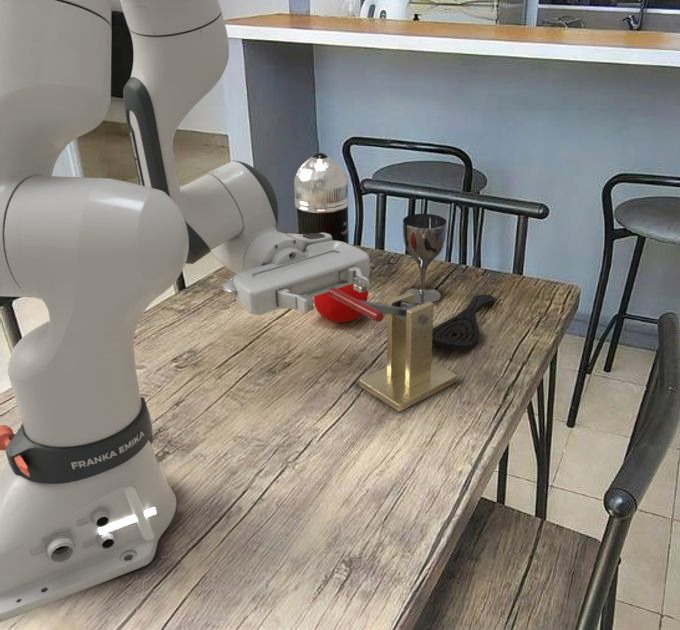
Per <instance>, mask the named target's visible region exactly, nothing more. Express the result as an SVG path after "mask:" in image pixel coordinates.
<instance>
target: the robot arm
mask: <svg viewBox="0 0 680 630" xmlns="http://www.w3.org/2000/svg"><path fill="white" fill-rule="evenodd" d="M119 2H120V6H121V9H122V12H123V16H124V19H125V21H126V25H127V28H128V31H129V33H130V37H131V41H132V49H133V61H132V69H131V74H130V78H129V79H128V81H126V84H125V85H124V87H123V89H122V91H123V92H122V94H123V96H122V98H123V106H124V114H125V121H126V126H127V131H128V137H129V141H130V146H131V151H132V155H133V160H134V165H135V170H136V174H137V180H138V183H134V182H129V181H124V180H120V179H115V178H110V177H109V178H107V177H84V176H82V177H81V176H58V175H57V176H56V175H55V176H54V175H53V173H54V169H55V166H56V163H57V162H58V159H59V157H60V155H61V154H62V153H63V151H64V150H65V149H66V148H67V146H69V144H71V143H72V142H73V141H75V140H76V139H77V138H80V137H82V136H83V135H86V134H88V133H90V132H92V131H93V130H95V129H96V128H97V127H99V126H100V125H101V124H102V122H103V121H104V120H105V118H106V116H107V114H108V112H109V109H110V107H111V103H112V0H0V297H11V298H12V297H13V298H33V299H38V300H41V301H42V302H43V303H44V305H45V307H46V309H47V312H48V318H49V319H48V321H46V322H44V323H42V324H40V325H39V326H37V327H35V328H33V329H32V330H30V331H29V332H27V333H26V334H25V335H24V336H22V338H21V339H19V341H18V342H17V343H16V345H15V346H14V348H13V349H12V351H11V354H10V357H9V360H8V364H7V376H8V378H9V382H10V386H11V390H12V392H13V396H14V400H15V402H16V405H17V409H18V412H19V415H20V419H21V425H20V427H19V428H18V429H17V431H16V433H14V430H13V429H12V427H11V426H8V425H6V424H1V425H0V451H5V454H6V458H7V462H8V463H7V464H6V465H5V466H4V467H3V468H2V469H1V470H0V623H3V622H5V621H8V620H10V619H13V618H15V617H18V616H21V615H23V614H26V613H29V612H31V611H33V610H37V609H39V608H42V607H43V606H47V605H49V604H51V603H54V602H56V601H59V600H61V599H65V598H67V597H69V596H72V595H74V594H77V593H79V592H82V591H85V590H87V589H90V588H92V587H95V586H98V585H100V584H103V583H105V582H108V581H110V580H113V579H115V578H118V577H120V576H121V577H122V576H123V575H125V574H129V573H131V572H133V571H136V570H139V569H141V568H144V567H146V566H147V565H149V564H150V563H151V562H152V561H153V560H154V558H155V555H156V553H157V552H156V551H157V549H158V548H157V547H158V543H159V541H160V539H161V537H162V535H163V534H164V533H165V531H167V529H168V528H169V526H170V525H171V523H172V521H173V519H174V517H175V515H176V511H177V497H176V494H175V492H174V490H173V488H172V487H171V486H170V484H169V483H168V481H167V479H166V477H165V475H164V473H163V471H162V469H161V467H160V464H159V461H158V459H157V455H156V453H155V451H154V447H153V443H154V436H153V423H152V419H151V415H150V410H149V408H148V405H147V401H146V400H145V397H143V396H141V392H140V386H139V380H138V375H137V374H138V373H137V365H136V357H135V335H136V331H137V327H138V324H139V322H140V319H141V317H142V315H143V314H144V312H145V311H146V309H147V308H148V307H149V306H150V305H151V304H152V302H154V301H155V300H157V298H159V297H160V296H161V295H163V294H164V293H166V292H167V291H168V290H169V289H170V288H171V287H173V285H174V284H175V283H176V282H177V280H178V279H179V277H180V275H181V274H182V273H183V270H184V268H185V266H186V264H187V265H188V264H189V265H194V264H195V263H197V262H198V261H199V260H202V259H203V258H204V257H205V256H207V255H208V254H210V253H211V255H212V256H213V257H214V258H215V259H216V260H217V261H218V262H219V263H220V264H221V265H222V266H223V267H225V268H226V269H228V270H229V271H230V272H232V273H233V274H234V275H233V276H230V277H229V278H226V281H225V282H223V283H222V285H221V288H222V290H223V292H225V293H227V294H228V295H231V296H234V298H235V301H236V302H237V303H238V304H239V305H240V306H241V308H243V309H244V310H245V311H246V312H248V314H251V315H256V316H261V315H264V314H267V313H271V312H273V311H276V310H279V309H284V310H298V311H299V312H301V313H303V314H305V313H308V312H310V311H313V310H315V305H314V297H315V296H318V295H321V294H323V293H326V292H328V291H329V289H330V288H332V287H334V288H336V289H338V288H341V287H344V286H347V285H350V284H354V285H353V287H354V290H355V291H358V292H359V293H361V292H364V291H367V290H368V291H369V290H370V287H371V286H370V279H369V278H370V274H371V258H370V256H369V254H368V253H367V252H366V251H364V250H362V249H360V248H358V247H356V246H355V245H354V246H353V245H352V244H350V243H349V244H347V243H344V242H341V241H332V236H331V235H330V234H327V233H314V234H297V233H289V232H288V233H284V232H281V231H278V230H277V227H278V223H279V205H278V199H277V196H276V192H275V191H274V190H275V189H274V188H273V186H272V183H270V180H268V178H267V177H266V176H265V175H264V173H262V172H261V171H260V170H258V169H257V168H255V167H253V166H252V165H250V164H248V163H246V162H244V161H240V160H232V161H230V162H227V163H225V164H223V165H221V166H219V167H217V168H215V169H212V170H210V171H209V172H207V173H205V174H204V175H202V176H200V177H198V178H196V179H194V180H192V181H190V182H188V183H186V184H184V185H182V186H180V184H179V183H180V182H179V178H178V171H177V166H176V165H177V164H176V160H175V154H174V149H173V147H174V145H173V143H174V137H175V134H176V132H177V130H178V128H179V126H180V124H181V123H182V121H183V120H185V117H186V116H187V115H188V114H189V113H190V112H191V110H192V109H193V108H194V107H195V106H196V105H197V104H198V103H199V102H200V101H201V100H202V99H203V98H205V96H207V95H208V94H209V93H210V92H211V91H212V90H213V89H214V88H215V86H216V85H217V84H218V83H219V81H220V80H221V78H222V76H223V74H224V73H225V71H226V69H227V65H228V62H229V59H230V42H229V36H228V35H229V34H228V31H227V28H226V24H225V20H224V16H223V12H222V8H221V3H220V1H219V0H119Z"/></svg>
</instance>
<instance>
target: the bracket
mask: <svg viewBox="0 0 680 630" xmlns="http://www.w3.org/2000/svg"><path fill="white" fill-rule="evenodd" d="M386 302H387V304H386V305H390V306H396V307H400V305H401V302H406V303H411V304H415V303H414V294H413V293H411V292H409V293H406V294H404V293H403V294H400V295H398V296H396V297H393V298H390V299H388V300H387V301H386ZM434 306H435V304H434V302H433V303H432V302H429V301H428V302H426V303H423V304H419V305H417V306H416V307H413V308H411V309H408V310H407V312H406V322H404V321H402V320H400V319H398V318H397V317H396V316H397V315H392V314H386V366H385V367H382V368H381V369H379V370H376V371H374V372H371V373H370V374H368V375H366V376H362V377H361V378H359V379H358V386H359V387H360V388H361V389H363V390H364V391H366V392H367V393H369V394H370V395H372V396H374V397H376V398H377V399H378V400H380V401H381V402H383V403H385V404H386V405H388V406H389V407H391V408H392V409H394V410H395V411H397V412H399V413H400V412H402V411H404V410H406V409H408V408H409V407H412V406H413V405H416V404H418V403H419V402H422V401H423V400H425V399H427V398H429V397H431V396H433V395H435V394H436V393H438V392H440V391H443V390H444V389H446V388H448V387H450V386H452V385H454V384H456V383H458V379H459V378H458V377H459V376H458V374H456V373H454V372H453V371H451V370H449V369H448V368H445V367H443V366H442V365H440V364H438V363H437V362H435V361H433V360H432V357H433V355H432V354H433V352H432V351H433V344H432V333H433V328H434V327H433V326H434Z"/></svg>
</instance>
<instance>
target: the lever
mask: <svg viewBox="0 0 680 630" xmlns="http://www.w3.org/2000/svg"><path fill="white" fill-rule="evenodd" d="M328 294H329V296H330V297H332V298H334V299H336V300H338V301H340V302H342V303H343V304H345V305H347V306H349V307H351V308H353V309H354V310H356V311H358V312H360V313H362V314H361V315H364V316H365V317H367V318H369V319H371V320H373V321H375V322H376V323H380V322H382V321H383V320H384V316H385V315H384V314H386V315H387V314H392V315H397V316H396V317H397V318H398V319H400V320H402V321H404V322H406V312H407V310H408V309H411V308H413V307H416V306H418V305H417V304H416V303H414V304H411V303H406V302H401V305H400V307H396V306H390V305H387V304H384V303H379V302H373V301H367V302H366V301H361V300H357V299H355V298H353V297H351V296H350V295H348V294H346V293H344V292H342V291H340V290H338V289H336V288H334V287H332V288H330V289H329V291H328Z"/></svg>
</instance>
